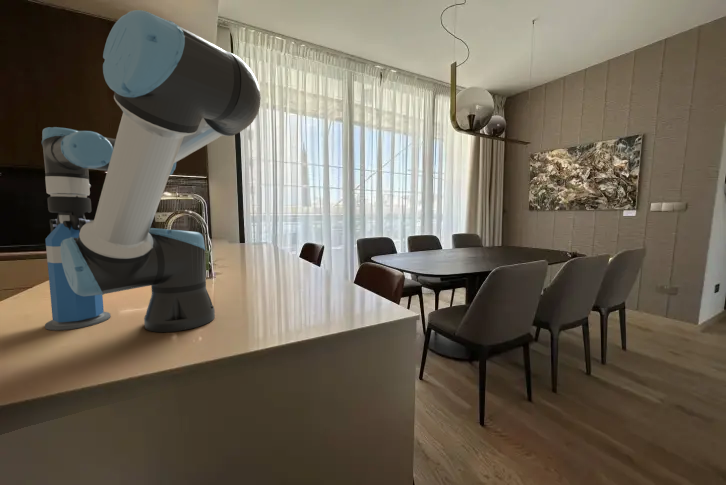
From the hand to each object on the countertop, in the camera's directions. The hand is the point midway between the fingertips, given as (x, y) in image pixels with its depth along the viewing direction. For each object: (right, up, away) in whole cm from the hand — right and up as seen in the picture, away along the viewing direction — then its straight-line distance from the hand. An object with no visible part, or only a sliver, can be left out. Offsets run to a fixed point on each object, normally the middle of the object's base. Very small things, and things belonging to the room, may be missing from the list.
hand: (77, 288), depth 76 cm
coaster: (0, -8, +1) cm, 8 cm away
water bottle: (0, -7, +1) cm, 7 cm away
